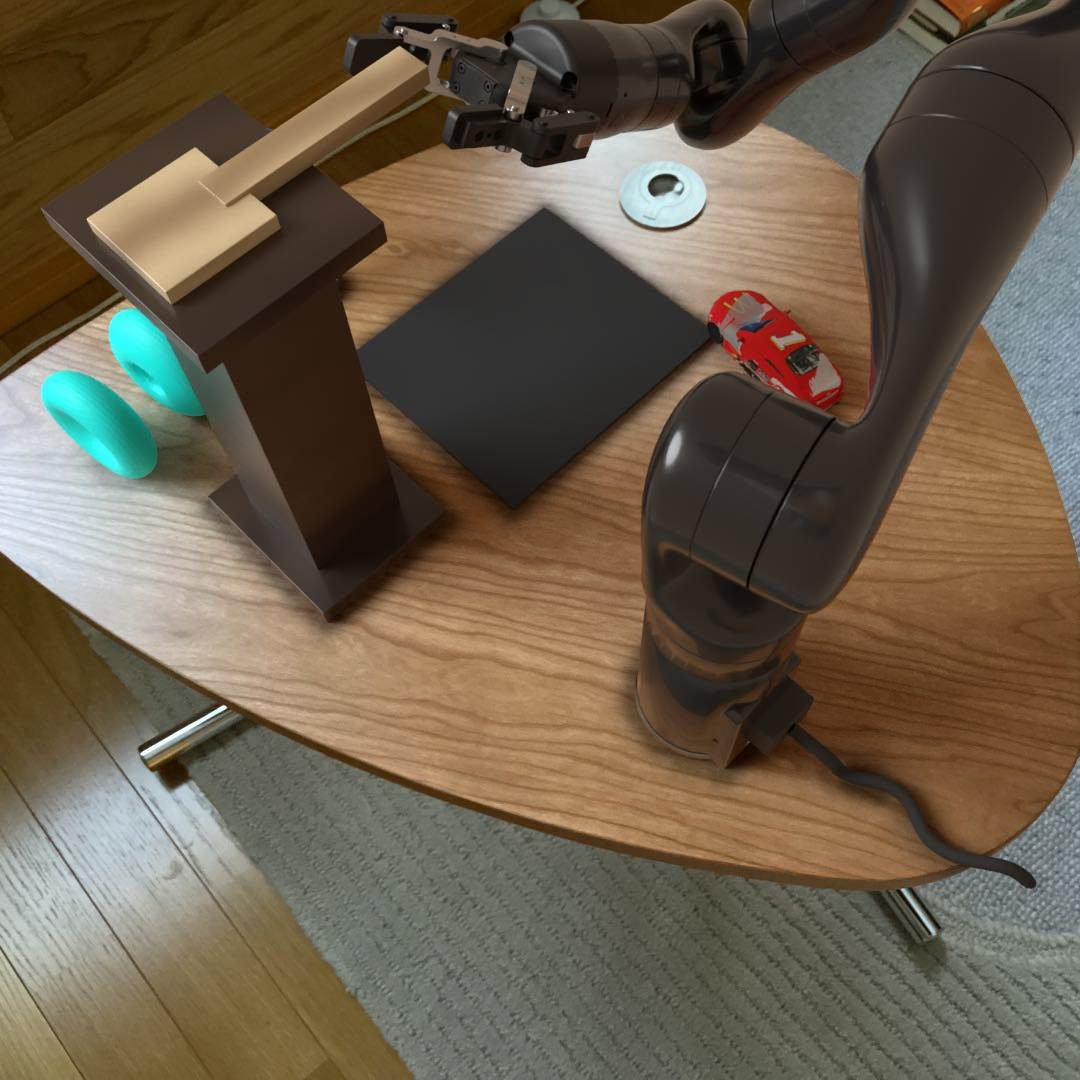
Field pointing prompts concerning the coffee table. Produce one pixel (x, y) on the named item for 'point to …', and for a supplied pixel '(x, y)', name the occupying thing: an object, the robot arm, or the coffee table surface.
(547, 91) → the robot arm
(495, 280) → the mat
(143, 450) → the donuts
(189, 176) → the spatula
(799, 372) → the race car
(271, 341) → the stand
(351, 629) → the coffee table surface
